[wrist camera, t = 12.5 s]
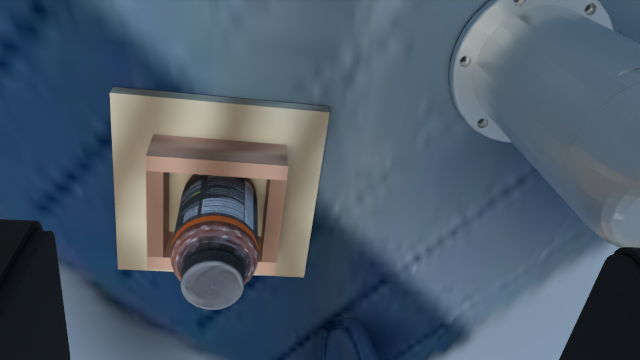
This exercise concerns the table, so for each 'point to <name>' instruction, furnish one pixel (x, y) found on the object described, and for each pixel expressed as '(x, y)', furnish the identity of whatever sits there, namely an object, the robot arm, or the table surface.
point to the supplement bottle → (215, 239)
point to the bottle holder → (214, 169)
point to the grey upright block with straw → (347, 341)
